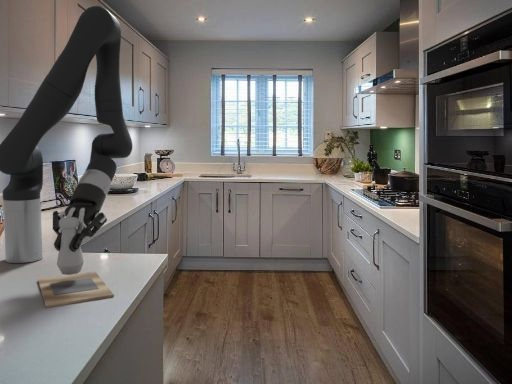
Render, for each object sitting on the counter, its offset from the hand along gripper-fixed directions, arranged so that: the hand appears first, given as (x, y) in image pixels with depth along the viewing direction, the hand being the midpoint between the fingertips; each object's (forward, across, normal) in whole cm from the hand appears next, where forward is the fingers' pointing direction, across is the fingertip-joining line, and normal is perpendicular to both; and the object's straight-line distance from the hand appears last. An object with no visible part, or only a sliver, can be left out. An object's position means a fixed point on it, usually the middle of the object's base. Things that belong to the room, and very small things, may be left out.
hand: (64, 249), depth 100 cm
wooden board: (+7, +3, +4) cm, 9 cm away
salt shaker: (+3, 0, +6) cm, 6 cm away
